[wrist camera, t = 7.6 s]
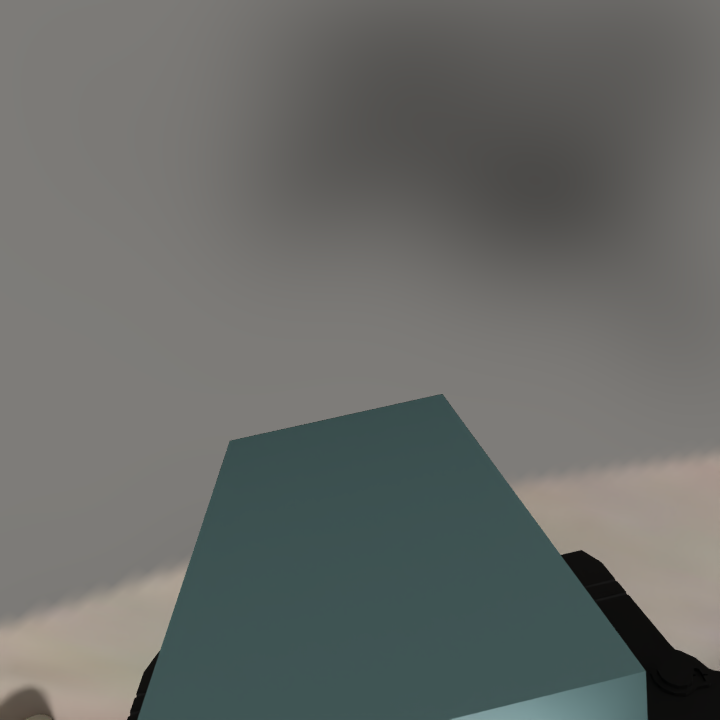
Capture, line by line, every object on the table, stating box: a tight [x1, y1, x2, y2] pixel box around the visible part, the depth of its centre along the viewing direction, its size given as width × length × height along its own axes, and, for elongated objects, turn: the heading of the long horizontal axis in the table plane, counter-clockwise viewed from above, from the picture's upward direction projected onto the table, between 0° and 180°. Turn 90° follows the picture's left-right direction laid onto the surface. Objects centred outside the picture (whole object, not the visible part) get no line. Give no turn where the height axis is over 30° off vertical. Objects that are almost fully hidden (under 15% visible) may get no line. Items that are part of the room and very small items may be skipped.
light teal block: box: [137, 394, 648, 720], centre depth 11 cm, size 6×10×9 cm, turn 11°
